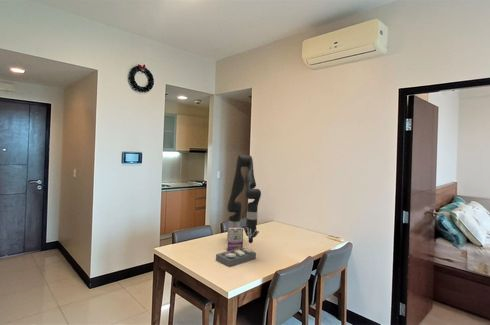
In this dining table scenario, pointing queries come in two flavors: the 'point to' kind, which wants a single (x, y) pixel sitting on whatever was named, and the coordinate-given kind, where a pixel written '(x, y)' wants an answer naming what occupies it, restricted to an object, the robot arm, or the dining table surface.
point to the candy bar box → (235, 238)
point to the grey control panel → (235, 257)
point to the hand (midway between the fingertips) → (250, 242)
